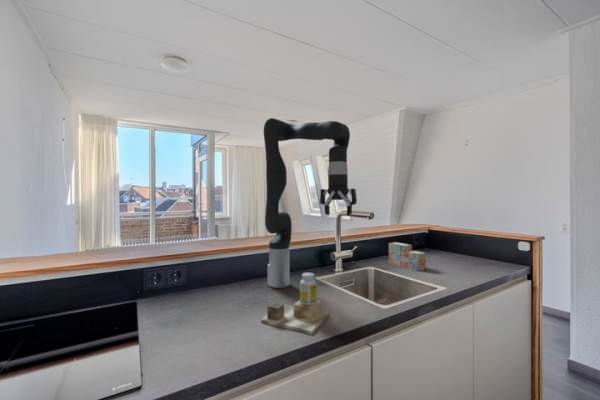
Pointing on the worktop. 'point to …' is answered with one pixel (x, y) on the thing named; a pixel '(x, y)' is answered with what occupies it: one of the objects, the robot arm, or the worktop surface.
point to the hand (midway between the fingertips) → (338, 215)
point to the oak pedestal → (307, 310)
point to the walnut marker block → (275, 311)
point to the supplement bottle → (308, 289)
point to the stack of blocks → (406, 256)
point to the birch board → (296, 321)
